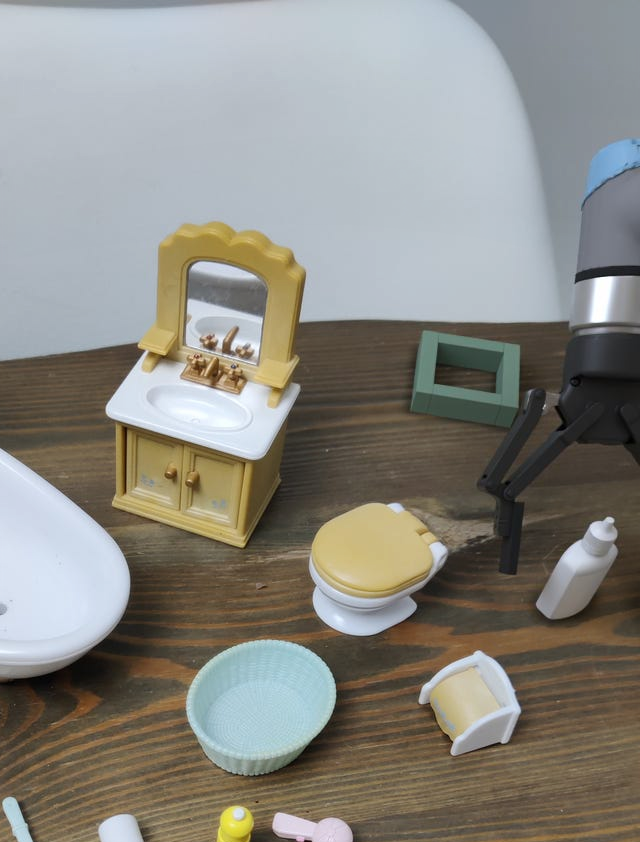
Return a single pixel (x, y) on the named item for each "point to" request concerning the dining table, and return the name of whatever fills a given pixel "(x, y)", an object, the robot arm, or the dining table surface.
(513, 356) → the socket pad
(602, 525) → the eye dropper bottle
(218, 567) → the dining table surface
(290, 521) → the dining table surface
